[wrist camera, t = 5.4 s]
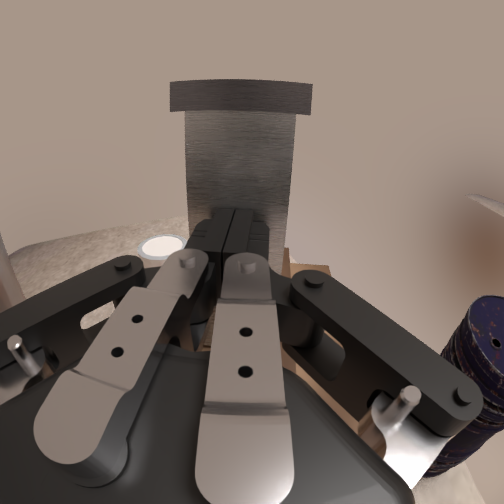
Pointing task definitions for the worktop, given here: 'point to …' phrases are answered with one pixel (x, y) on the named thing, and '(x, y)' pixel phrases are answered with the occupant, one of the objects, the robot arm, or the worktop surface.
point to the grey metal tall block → (240, 151)
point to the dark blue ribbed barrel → (477, 378)
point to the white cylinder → (159, 249)
